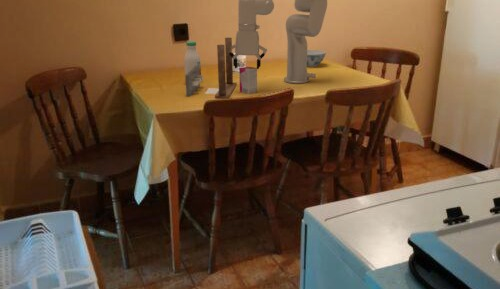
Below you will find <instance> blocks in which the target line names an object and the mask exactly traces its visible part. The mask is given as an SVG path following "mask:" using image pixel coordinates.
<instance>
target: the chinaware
mask: <svg viewBox="0 0 500 289" xmlns="http://www.w3.org/2000/svg"><path fill="white" fill-rule="evenodd" d="M325 57H326V51H325V50H319V49H318V50H317V49H307V66H308V67H307V68H316V67H319V66H318V65H319V64H321V63H322V62H323V61H324V59H325Z"/></svg>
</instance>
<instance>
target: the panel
mask: <svg viewBox="0 0 500 289" xmlns="http://www.w3.org/2000/svg"><path fill="white" fill-rule="evenodd" d="M184 79H186V81H185V90H186V97H187V98H188V97H191V96H192V95H193V94H194V93H195V92H196V91H197V89H198V88H199V87H200V86H201V82H202V81H203V80H204V75H201V76H199V66H195V67H194V68H193V69H192V70H191V71H190V72H188V73H187V74H186V75H185V74H184Z"/></svg>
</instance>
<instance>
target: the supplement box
mask: <svg viewBox="0 0 500 289" xmlns="http://www.w3.org/2000/svg"><path fill="white" fill-rule="evenodd" d="M256 92H258V69H257V67H253V66H244V67H239V93H243V94H248V95H250V94H253V93H256Z"/></svg>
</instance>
